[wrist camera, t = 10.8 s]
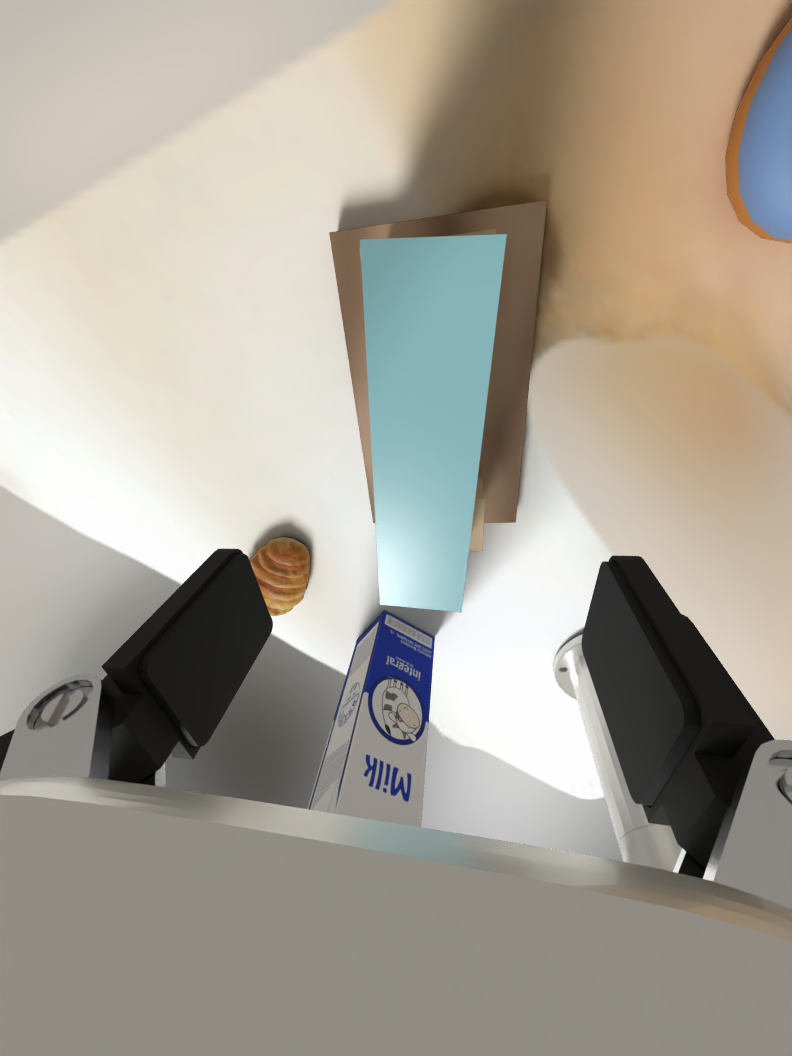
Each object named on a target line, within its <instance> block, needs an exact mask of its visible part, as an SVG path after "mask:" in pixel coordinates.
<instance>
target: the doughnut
mask: <svg viewBox="0 0 792 1056" xmlns="http://www.w3.org/2000/svg"><path fill="white" fill-rule="evenodd" d="M725 159H726V182H727V195H728V197H729V200H730V202H731V204H732V206H733V208H734V211H735V213H736V215H737V217H738V219H739V222H741V223H742V224H743V225H745V226H746V227H747V228H749V229H750V230H751V231H753V232H754V233H755V234H757V235H758V236H759V237H760V238H764V239H769V240H775V241H781V242H786V243H792V17H791V18H790V20H789V21H788V22H787V24H786V25H785V27H784V28H783V30H782V31H781V32H780V34H779V35H778V37H777V38H776V39H775V41H774V42H773V44H772V45H771V46H770V48H769V49H768V51H767V52H766V54H765V55H764V56H763V58H762V59H761V61H760V62H759V64H758V66H757V69H756V71H755V73H754V75H753V77H752V79H751V81H750V83H749V86H748V88H747V90H746V92H745V94H744V96H743V98H742V101H741V103H740V105H739V107H738V109H737V111H736V114H735V119H734V123H733V127H732V131H731V136H730V140H729V144H728V148H727V153H726V157H725Z"/></svg>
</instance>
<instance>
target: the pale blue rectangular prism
mask: <svg viewBox="0 0 792 1056" xmlns="http://www.w3.org/2000/svg"><path fill="white" fill-rule="evenodd" d="M506 237H507V234H497V235H470V236H443V237H416V238H389V239H363V240H360V249H361V267H362V285H363V304H364V322H365V340H366V358H367V377H368V395H369V413H370V432H371V450H372V468H373V486H374V505H375V523H376V541H377V560H378V578H379V596H380V605H390V606H400V607H411V608H421V609H431V610H442V611H452V612H462V604H463V596H464V588H465V579H466V571H467V563H468V554H469V546H470V538H471V529H472V521H473V512H474V504H475V496H476V487H477V479H478V471H479V462H480V454H481V446H482V437H483V429H484V421H485V412H486V404H487V395H488V387H489V379H490V370H491V362H492V354H493V345H494V337H495V329H496V320H497V312H498V304H499V295H500V287H501V278H502V270H503V262H504V253H505V245H506Z"/></svg>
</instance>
